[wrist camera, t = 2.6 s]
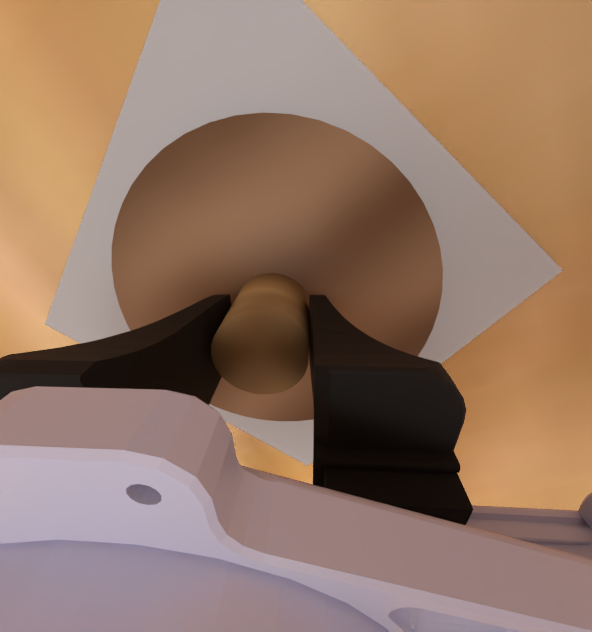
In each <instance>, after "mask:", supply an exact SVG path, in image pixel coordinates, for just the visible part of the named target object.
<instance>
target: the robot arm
mask: <svg viewBox="0 0 592 632" xmlns="http://www.w3.org/2000/svg"><path fill="white" fill-rule="evenodd" d="M231 306H232V304H231V297H230V295H212V296H209V297H207V298H205V299H203V300H201V301H199V302H197V303H195V304H193V305H191V306H189V307H187V308H185V309H183V310H181V311H178V312H176V313H174V314H172V315H170V316H167V317H165V318H163V319H161V320H158V321H156V322H154V323H151V324H148V325H146V326H143V327H140V328H137V329H134V330H131V331H128V332H125V333H121V334H117V335H114V336H110V337H107V338H103V339H99V340H95V341H90V342H86V343H81V344H76V345H71V346H66V347H60V348H54V349H47V350H40V351H33V352H26V353H18V354H10V355H7V356H4V357H2V358H1V359H0V632H592V493H590V494H589V495H588V496H587V497H586V498H585V499H584V500H583V502H582V504H581V506H580V508H579V511H573V510H553V509H532V508H512V507H492V506H472V505H471V503H470V501H469V498H468V496H467V494H466V492H465V490H464V487H463V485H462V483H461V481H460V479H459V476H458V474H457V472H458V473H459V471H460V464H459V462H458V460H457V457H456V455H455V453H454V448H455V445H456V442H457V440H458V437H459V434H460V431H461V429H462V426H463V423H464V419H465V413H466V407H465V403H464V399H463V397H462V395H461V394H460V392H459V390H458V389H457V387H456V385H455V384H454V382H453V381H452V379H451V377H450V376H449V375H448V373H447V372H446V371H445V369H444V368H443V367H442V365H441V364H440V363H439V362H436V361H432V360H429V359H425V358H422V357H418V356H415V355H411V354H408V353H405V352H403V351H400V350H397V349H395V348H392V347H390V346H388V345H385V344H383V343H381V342H379V341H378V340H376V339H374V338H372V337H370V336H368V335H367V334H365V333H364V332H362V331H361V330H359V329H358V328H356V327H355V326H354V325H352V324H351V323H350V322H349V321H348V320H346V319H345V318H344V317H343V316H342V315H341V314H340V313H339V312H338V310H337V309H336V308H335V307H334V306H333V305H332V303H331V302H330V301H329V299H328V298H327V297H326V296H325V295H310V296H309V332H310V336H309V362H310V373H311V383H312V394H313V407H314V434H313V485H312V484H308V483H305V482H301V481H297V480H293V479H290V478H286V477H282V476H278V475H275V474H271V473H267V472H263V471H260V470H256V469H252V468H248V467H245V466H241V465H240V464H239V462H238V460H237V457H236V454H235V448H234V443H233V438H232V434H231V432H230V430H229V428H228V427H227V425H226V423H225V421H224V419H223V418H222V416H221V414H220V413H219V412H218V411H217V410H215V409H214V408H212V407H211V406H209V404H210V402H211V399H212V397H213V395H214V393H215V390H216V388H217V386H218V384H219V382H220V380H221V377H222V376H221V375H220V374H219V372H218V371H217V369H216V368H215V366H214V363H213V361H212V357H211V344H212V340H213V337H214V335H215V334H216V332H217V330H218V328H219V327H220V325H221V323H222V321H223V320H224V318H225V316H226V315H227V313H228V311H229V309H230V308H231Z"/></svg>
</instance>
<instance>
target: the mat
mask: <svg viewBox="0 0 592 632" xmlns="http://www.w3.org/2000/svg"><path fill="white" fill-rule="evenodd" d="M253 113H281V114H293V115H298V116H303V117H307V118H312V119H316V120H320V121H323V122H326V123H328V124H331V125H333V126H336V127H338V128H341V129H344V130H346V131H348V132H350V133H351V134H353V135H355V136H356V137H358V138H360V139H362V140H363V141H365V142H367V143H369V144H370V145H372V146H373V147H374V148H375V149H377V150H378V151H379V152H380V153H381V154H383V155H384V156H385V157H386V158H388V159H389V160H390V161H391V162H392V163H393V164H394V165H395V166H396V167H397V168H398V169H399V170H400V171H401V173H402V174H403V175H404V176H405V177H406V178H407V179H408V180H409V181H410V183H411V184H412V186H413V187H414V189H415V190H416V192H417V193H418V195H419V196H420V198H421V200H422V201H423V203H424V205H425V207H426V209H427V211H428V213H429V216H430V218H431V220H432V222H433V224H434V227H435V231H436V234H437V238H438V242H439V245H440V250H441V258H442V266H443V283H442V295H441V301H440V307H439V311H438V315H437V318H436V321H435V324H434V327H433V330H432V332H431V334H430V336H429V338H428V340H427V342H426V344H425V346H424V348H423V349H422V351H421V352H420V354H419V355H418V357H422V358H425V359H429V360H432V361H436V362H439V363H440V364H442V363H443V362H444V361H445V360H447V359H448V358H449V357H451V356H452V355H453V354H455V353H456V352H457V351H459V350H460V349H461V348H462V347H464V346H465V345H466V344H468V343H469V342H470V341H472V340H473V339H474V338H476V337H477V336H478V335H479V334H481V333H482V332H483V331H485V330H486V329H487V328H489V327H490V326H491V325H493V324H494V323H495V322H496V321H498V320H499V319H500V318H502V317H503V316H504V315H506V314H507V313H508V312H510V311H511V310H512V309H513V308H515V307H516V306H517V305H519V304H520V303H521V302H523V301H524V300H525V299H527V298H528V297H529V296H530V295H532V294H533V293H534V292H536V291H537V290H538V289H540V288H541V287H542V286H544V285H545V284H546V283H547V282H549V281H550V280H551V279H553V278H554V277H555V276H557V275H558V274H559V273H561V272H562V271H563V270H562V269H561V268H560V267H559V266H558V265H557V264H556V263H555V261H554V260H553V259H552V258H551V257H550V256H549V255H548V254H547V253H546V252H545V251H544V250H543V249H542V248H541V247H540V246H539V245H538V244H537V243H536V242H535V241H534V240H533V239H532V238H531V237H530V236H529V235H528V234H527V233H526V232H525V230H524V229H523V228H522V227H521V226H520V225H519V224H518V223H517V222H516V221H515V220H514V219H513V218H512V217H511V216H510V215H509V214H508V213H507V212H506V211H505V210H504V209H503V208H502V207H501V206H500V205H499V204H498V203H497V202H496V201H495V200H494V198H493V197H492V196H491V195H490V194H489V193H488V192H487V191H486V190H485V189H484V188H483V187H482V186H481V185H480V184H479V183H478V182H477V181H476V180H475V179H474V178H473V177H472V176H471V175H470V174H469V173H468V172H467V171H466V170H465V169H464V167H463V166H462V165H461V164H460V163H459V162H458V161H457V160H456V159H455V158H454V157H453V156H452V155H451V154H450V153H449V152H448V151H447V150H446V149H445V148H444V147H443V146H442V145H441V144H440V143H439V142H438V141H437V140H436V139H435V138H434V137H433V135H432V134H431V133H430V132H429V131H428V130H427V129H426V128H425V127H424V126H423V125H422V124H421V123H420V122H419V121H418V120H417V119H416V118H415V117H414V116H413V115H412V114H411V113H410V112H409V111H408V110H407V109H406V108H405V107H404V106H403V105H402V103H401V102H400V101H399V100H398V99H397V98H396V97H395V96H394V95H393V94H392V93H391V92H390V91H389V90H388V89H387V88H386V87H385V86H384V85H383V84H382V83H381V82H380V81H379V80H378V79H377V78H376V77H375V76H374V75H373V74H372V72H371V71H370V70H369V69H368V68H367V67H366V66H365V65H364V64H363V63H362V62H361V61H360V60H359V59H358V58H357V57H356V56H355V55H354V54H353V53H352V52H351V51H350V50H349V49H348V48H347V47H346V46H345V45H344V44H343V43H342V42H341V40H340V39H339V38H338V37H337V36H336V35H335V34H334V33H333V32H332V31H331V30H330V29H329V28H328V27H327V26H326V25H325V24H324V23H323V22H322V21H321V20H320V19H319V18H318V17H317V16H316V15H315V14H314V13H313V12H312V11H311V9H310V8H309V7H308V6H307V5H306V4H305V3H304V2H303V1H302V0H160V3H159V5H158V8H157V11H156V14H155V17H154V19H153V22H152V25H151V28H150V31H149V33H148V36H147V39H146V42H145V45H144V47H143V50H142V53H141V56H140V59H139V62H138V64H137V67H136V70H135V73H134V76H133V78H132V81H131V84H130V87H129V90H128V92H127V95H126V98H125V101H124V104H123V106H122V109H121V112H120V115H119V118H118V121H117V123H116V126H115V129H114V132H113V135H112V137H111V140H110V143H109V146H108V149H107V151H106V154H105V157H104V160H103V163H102V165H101V168H100V171H99V174H98V177H97V180H96V182H95V185H94V188H93V191H92V194H91V196H90V199H89V202H88V205H87V208H86V210H85V213H84V216H83V219H82V222H81V224H80V227H79V230H78V233H77V236H76V239H75V241H74V244H73V247H72V250H71V253H70V255H69V258H68V261H67V264H66V267H65V269H64V272H63V275H62V278H61V281H60V283H59V286H58V289H57V292H56V295H55V298H54V300H53V303H52V306H51V309H50V312H49V314H48V317H47V320H46V323H45V324H46V325H47V326H49V327H51V328H53V329H55V330H57V331H59V332H60V333H62V334H64V335H66V336H68V337H70V338H72V339H73V340H75V341H77V342H79V343H86V342H90V341H95V340H99V339H103V338H107V337H110V336H114V335H117V334H121V333H125V332H128V331H130V329H129V327H128V325H127V323H126V321H125V319H124V316H123V314H122V311H121V309H120V306H119V303H118V299H117V296H116V292H115V288H114V282H113V275H112V267H111V263H112V241H113V235H114V228H115V224H116V220H117V217H118V214H119V211H120V208H121V205H122V203H123V201H124V199H125V197H126V195H127V193H128V191H129V189H130V187H131V185H132V183H133V182H134V181H135V179H136V178H137V177H138V175H139V174H140V173H141V171H142V170H143V169H144V167H145V166H146V165H147V164H148V163H149V162H150V161H151V160H152V159H153V158H154V157H155V156H156V155H157V154H158V153H159V152H160V151H161V150H162V149H163V148H165V147H166V146H167V145H169V144H170V143H172V142H173V141H175V140H176V139H178V138H179V137H181V136H182V135H184V134H185V133H187V132H190V131H192V130H194V129H196V128H198V127H200V126H202V125H205V124H207V123H209V122H213V121H216V120H220V119H224V118H227V117H231V116H235V115H244V114H253ZM209 406H211V407H212V408H214V409H215V410H217V411H218V412H219V413H220V414H221V416H222V418H223V419H224V421H225V422H227V423H229V424H231V425H233V426H235V427H237V428H238V429H240V430H242V431H244V432H246V433H248V434H250V435H251V436H253V437H255V438H257V439H259V440H261V441H263V442H264V443H266V444H268V445H270V446H272V447H274V448H276V449H277V450H279V451H281V452H283V453H285V454H287V455H289V456H290V457H292V458H294V459H296V460H298V461H300V462H302V463H303V464H305V465H307V466H308V465H309V464H311V463H312V462H313V434H314V419H313V420H304V421H269V420H261V419H255V418H250V417H245V416H241V415H238V414H234V413H231V412H228V411H225V410H223V409H220V408H217V407H215V406H213V405H211V404H209Z"/></svg>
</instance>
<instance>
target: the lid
mask: <svg viewBox="0 0 592 632" xmlns="http://www.w3.org/2000/svg"><path fill="white" fill-rule="evenodd" d="M111 267H112V275H113V282H114V288H115V292H116V296H117V299H118V303H119V306H120V309H121V311H122V314H123V316H124V319H125V321H126V323H127V325H128V327H129V329H130V331H131V330H134V329H137V328H140V327H143V326H146V325H148V324H151V323H154V322H156V321H158V320H161V319H163V318H165V317H167V316H170V315H172V314H174V313H176V312H178V311H181V310H183V309H185V308H187V307H189V306H191V305H193V304H195V303H197V302H199V301H201V300H203V299H205V298H207V297H209V296H212V295H230V297H231V304H232V306H231V308H230V309H229V311H228V313H227V315H226V316H225V318H224V320H223V321H222V323H221V325H220V327H219V328H218V330H217V332H216V334H215V335H214V337H213V340H212V344H211V357H212V361H213V363H214V366H215V368H216V369H217V371H218V372H219V374H220V375H221V376H222V377H221V380H220V382H219V384H218V386H217V388H216V390H215V393H214V395H213V397H212V399H211V402H210V404H211V405H213V406H215V407H217V408H220V409H223V410H225V411H228V412H231V413H234V414H238V415H241V416H245V417H250V418H255V419H261V420H269V421H304V420H313V419H314V407H313V394H312V383H311V373H310V362H309V336H310V332H309V296H310V295H325V296H326V297H327V298H328V299H329V301H330V302H331V303H332V305H333V306H334V307H335V308H336V309H337V310H338V312H339V313H340V314H341V315H342V316H343V317H344V318H345V319H346V320H348V321H349V322H350V323H351V324H352V325H354V326H355V327H356V328H358V329H359V330H361V331H362V332H364V333H365V334H367V335H368V336H370V337H372V338H374V339H376V340H378V341H379V342H381V343H383V344H385V345H388V346H390V347H392V348H395V349H397V350H400V351H403V352H405V353H408V354H411V355H415V356H418V355H419V354H420V352H421V351H422V349H423V348H424V346H425V344H426V342H427V340H428V338H429V336H430V334H431V332H432V330H433V327H434V324H435V321H436V318H437V315H438V311H439V307H440V301H441V295H442V283H443V266H442V258H441V250H440V245H439V242H438V238H437V234H436V231H435V227H434V224H433V222H432V220H431V218H430V216H429V213H428V211H427V209H426V207H425V205H424V203H423V201H422V200H421V198H420V196H419V195H418V193H417V192H416V190H415V189H414V187H413V186H412V184H411V183H410V181H409V180H408V179H407V178H406V177H405V176H404V175H403V174H402V173H401V171H400V170H399V169H398V168H397V167H396V166H395V165H394V164H393V163H392V162H391V161H390V160H389V159H388V158H386V157H385V156H384V155H383V154H381V153H380V152H379V151H378V150H377V149H375V148H374V147H373V146H372V145H370V144H369V143H367V142H365V141H363V140H362V139H360V138H358V137H356V136H355V135H353V134H351V133H350V132H348V131H346V130H344V129H341V128H338V127H336V126H333V125H331V124H328V123H326V122H323V121H320V120H316V119H312V118H307V117H303V116H298V115H293V114H281V113H253V114H244V115H235V116H231V117H227V118H224V119H220V120H216V121H213V122H209V123H207V124H205V125H202V126H200V127H198V128H196V129H194V130H192V131H190V132H187V133H185V134H184V135H182V136H181V137H179V138H178V139H176V140H175V141H173V142H172V143H170V144H169V145H167V146H166V147H165V148H163V149H162V150H161V151H160V152H159V153H158V154H157V155H156V156H155V157H154V158H153V159H152V160H151V161H150V162H149V163H148V164H147V165H146V166H145V167H144V169H143V170H142V171H141V173H140V174H139V175H138V177H137V178H136V179H135V181H134V182H133V183H132V185H131V187H130V189H129V191H128V193H127V195H126V197H125V199H124V201H123V203H122V205H121V208H120V211H119V214H118V217H117V220H116V224H115V228H114V235H113V241H112V263H111Z"/></svg>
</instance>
